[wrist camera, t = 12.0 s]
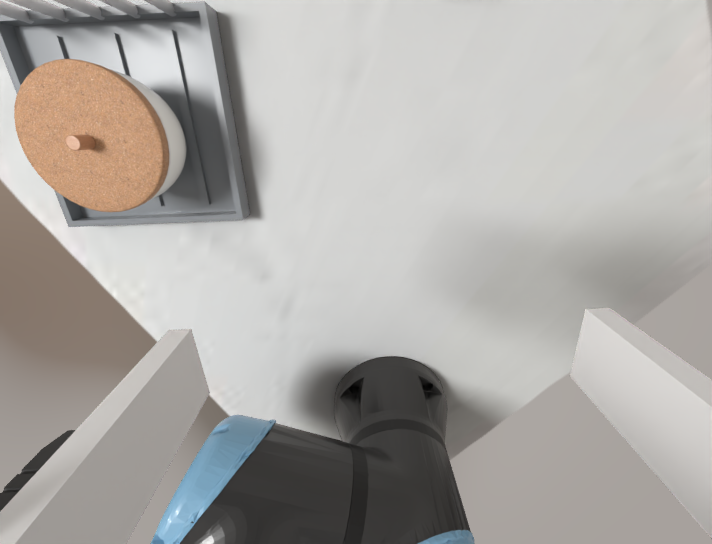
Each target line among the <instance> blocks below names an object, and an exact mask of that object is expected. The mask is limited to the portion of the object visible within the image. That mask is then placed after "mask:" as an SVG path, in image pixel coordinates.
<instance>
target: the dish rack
mask: <svg viewBox="0 0 712 544" xmlns="http://www.w3.org/2000/svg"><path fill="white" fill-rule="evenodd" d="M6 1H9V2H12V3H15V4H17V5H20V6H23V7H26V8H28V9H31V10H28V11H27V10H25V9H22V8H19V7H16V6H13V5H11V4H8V3H5V2H2V1H0V51H1V54H2V57H3V59H4V62H5V64H6V67H7V69H8V72H9V75H10V77H11V80H12V82H13V85H14V87H15V90H16V93H17V94H18V91H19V89H20V86H21V84H22V83H23V81H24V80H25V79H26V77H27V76H28V75H29V74H30V73H31V72H32V71H33V70H34V69H35V68H37V67H39V66H41V65H42V64H44V63H47V62H50V61H54V60H59V59H76V60H83V61H87V62H91V63H94V64H98V65H101V66H103V67H105V68H108V69H111V70H114V71H118V72H120V73H122V74H125V75H127V76H129V77H132V78H134V79H136V80H138V81H139V82H141V83H143V84H144V85H146V86H147V87H149V88H150V89H152V90H153V91H154V92H155V93H157V94H158V95H159V96H160V97H161V98H162V99H163V100H164V101H165V102H166V103H167V104H168V105H169V107H170V108H171V109H172V111H173V112H174V114H175V115H176V117H177V119H178V120H179V122H180V124H181V127H182V129H183V132H184V136H185V140H186V159H185V164H184V167H183V170H182V172H181V174H180V176H179V177H178V179H177V181H176V182H175V183H174V184H173V185H172V186H171V187H170V188H169V189H168V190H167V191H165V192H164V193H162V194H161V195H159V196H158V197H156V198H154V199H152V200H150V201H147V202H146V203H144V204H142V205H140V206H138V207H136V208H133V209H130V210H126V211H122V212H101V211H96V210H92V209H89V208H86V207H83V206H80V205H78V204H76V203H74V202H72V201H70V200H68V199H67V198H65V197H64V196H62V195H61V194H59V193H58V192H57V191H55V193H56V196H57V198H58V201H59V203H60V206H61V208H62V211H63V214H64V216H65V219H66V221H67V224H68V226H69V227H80V226H104V225H129V224H153V223H177V222H201V221H226V220H243V219H245V218H246V217H247V216H248V215H250V210H249V204H248V198H247V192H246V186H245V180H244V174H243V168H242V162H241V156H240V150H239V144H238V138H237V132H236V127H235V121H234V115H233V109H232V103H231V97H230V91H229V85H228V79H227V73H226V67H225V61H224V55H223V49H222V43H221V37H220V31H219V25H218V19H217V13H216V11H215V10H214V9H213V8H212V7H210V6H209V5H208V4H207V3H206V2H184V3H171V2H170V1H168V0H145V1H147V2H148V3H150V4H145V5H135V4H133V3H131V2H129V1H128V0H100V1H102V2H104V3H106V4H108V5H110V6H106V7H99V6H97V5H94V4H92V3H90V2H88V1H86V0H54V1H56V2H59V3H61V4H64V5H66V6H68V7H71V8H67V9H63V8H60V7H58V6H56V5H53V4H51V3H48V2H46V1H43V0H6Z"/></svg>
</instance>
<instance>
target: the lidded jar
mask: <svg viewBox="0 0 712 544" xmlns="http://www.w3.org/2000/svg"><path fill="white" fill-rule="evenodd" d="M15 125H16V131H17V134H18V138H19V141H20V144H21V146H22V148H23V151H24V153H25V155H26V156H27V158H28V160H29V161H30V163H31V165H32V166H33V167H34V169H35V170H36V171H37V173H38V174H39V175H40V176H41V177H42V178H43V179H44V181H45V182H46V183H47V184H48V185H50V186H51V187H52V188H53V189H54V190H55V191H57V192H58V193H59V194H61V195H62V196H64V197H65V198H67V199H68V200H70V201H72V202H74V203H76V204H78V205H80V206H83V207H86V208H89V209H92V210H96V211H101V212H122V211H126V210H130V209H133V208H136V207H138V206H140V205H142V204H144V203H146V202H147V201H150V200H152V199H154V198H156V197H158V196H159V195H161V194H162V193H164V192H165V191H167V190H168V189H169V188H170V187H171V186H172V185H173V184H174V183H175V182H176V181H177V179H178V177H179V176H180V174H181V172H182V170H183V167H184V164H185V159H186V140H185V136H184V132H183V129H182V127H181V124H180V122H179V120H178V119H177V117H176V115H175V114H174V112H173V111H172V109H171V108H170V107H169V105H168V104H167V103H166V102H165V101H164V100H163V99H162V98H161V97H160V96H159V95H158V94H157V93H155V92H154V91H153V90H152V89H150V88H149V87H147V86H146V85H144V84H143V83H141V82H139V81H138V80H136V79H134V78H132V77H129V76H127V75H125V74H122V73H120V72H118V71H114V70H111V69H108V68H105V67H103V66H101V65H98V64H94V63H91V62H87V61H83V60H76V59H59V60H54V61H50V62H47V63H44V64H42V65H41V66H39V67H37V68H35V69H34V70H33V71H32V72H31V73H30V74H29V75H28V76H27V77H26V79H25V80H24V81H23V83H22V84H21V86H20V89H19V91H18V94H17V97H16V102H15Z"/></svg>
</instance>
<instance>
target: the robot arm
mask: <svg viewBox="0 0 712 544" xmlns="http://www.w3.org/2000/svg"><path fill="white" fill-rule="evenodd" d="M570 376H571V378H572V379H573V380H574V381H575V383H577V385H578V386H579V387H580V388H581V389H582V390H583V392H584V393H585V394H586V395H587V396H588V397H589V399H590V400H591V401H592V402H593V403H594V404H595V405H596V407H597V408H598V409H599V410H600V411H601V412H602V414H603V415H604V416H605V417H606V418H607V419H608V420H609V422H610V423H611V424H612V425H613V426H614V427H615V428H616V430H617V431H618V432H619V433H620V434H621V435H622V436H623V438H624V439H625V440H626V441H627V442H628V443H629V444H630V446H631V447H632V448H633V449H634V450H635V451H636V453H637V454H638V455H639V456H640V457H641V458H642V459H643V461H644V462H645V463H646V464H647V465H648V466H649V467H650V469H651V470H652V471H653V472H654V473H655V474H656V475H657V477H658V478H659V479H660V480H661V481H662V482H663V483H664V485H665V486H666V487H667V488H668V489H669V490H670V492H671V493H672V494H673V495H674V496H675V497H676V498H677V500H678V501H679V502H680V503H681V504H682V505H683V507H684V508H685V509H686V510H687V511H688V512H689V513H690V514H691V516H692V517H693V518H694V519H695V520H696V521H697V523H698V524H699V525H700V526H701V527H702V528H703V529H704V531H705V532H706V533H707V534H708V535H709V536H710V538H711V539H712V380H711V379H710V378H709V377H707V376H706V375H704V374H703V373H702V372H700V371H699V370H697V369H696V368H694V367H693V366H692V365H690V364H689V363H687V362H686V361H685V360H683V359H682V358H680V357H679V356H677V355H676V354H675V353H673V352H672V351H670V350H669V349H667V348H666V347H665V346H663V345H662V344H660V343H659V342H657V341H656V340H655V339H653V338H652V337H650V336H649V335H647V334H646V333H644V332H643V331H642V330H640V329H639V328H637V327H636V326H635V325H633V324H632V323H630V322H629V321H628V320H626V319H625V318H623V317H622V316H620V315H619V314H618V313H616V312H615V311H613V310H612V309H610V308H594V309H586V310H585V314H584V318H583V322H582V326H581V331H580V335H579V339H578V343H577V347H576V352H575V356H574V360H573V364H572V368H571V373H570ZM209 393H210V392H209V389H208V385H207V382H206V378H205V375H204V372H203V368H202V365H201V361H200V358H199V354H198V351H197V347H196V344H195V341H194V337H193V334H192V330H191V329H181V330H168V331H167V332H166V334H165V335H164V336H163V337H162V338H161V339H160V340H159V341H158V342H157V343H156V344H155V345H154V346H153V348H152V349H151V350H150V351H149V352H148V353H147V354H146V355H145V356H144V357H143V358H142V359H141V360H140V362H139V363H138V364H137V365H136V366H135V367H134V368H133V369H132V370H131V371H130V372H129V373H128V375H127V376H126V377H125V378H124V379H123V380H122V381H121V382H120V383H119V384H118V385H117V386H116V387H115V389H114V390H113V391H112V392H111V393H110V394H109V395H108V396H107V397H106V398H105V399H104V401H102V403H101V404H100V405H99V406H98V407H97V408H96V409H95V410H94V411H93V412H92V413H91V414H90V415H89V417H88V418H87V419H86V420H85V421H84V422H83V423H82V424H81V425H80V426H79V427H78V428H77V429H76V430H70V431H67V432H65V433H64V434H62V435H61V436H60V437H58V438H57V439H55V440H54V441H53V442H51V443H50V444H49V445H47V446H46V447H44V448H43V449H42V450H41V451H40V452H39V453H38V454H37V455H36V456H35V457H34V458H33V459H32V460H31V461H30V462H29V463H28V464H27V465H26V466H25V467H24V468H23V469H22V472H21V474H17V475H16V477H14V478H13V479H12V480H11V481H10V482H9V483H8V484H7V485H6V487H5V488H4V491H3V492H2V493H0V544H127V542H128V540H129V538H130V536H131V534H132V533H133V531H134V529H135V527H136V525H137V524H138V522H139V520H140V518H141V516H142V515H143V513H144V511H145V509H146V507H147V506H148V504H149V502H150V500H151V498H152V497H153V495H154V493H155V491H156V489H157V487H158V485H159V484H160V482H161V480H162V478H163V477H164V475H165V473H166V471H167V469H168V467H169V466H170V464H171V462H172V460H173V458H174V457H175V455H176V453H177V451H178V449H179V448H180V445H181V444H182V442H183V440H184V438H185V437H186V435H187V433H188V431H189V429H190V428H191V426H192V424H193V422H194V420H195V418H196V417H197V415H198V413H199V411H200V409H201V408H202V406H203V404H204V402H205V400H206V399H207V397H208V395H209ZM334 415H335V421H336V424H337V427H338V430H339V433H340V436H341V439H342V441H340V440H336V439H332V438H329V437H325V436H321V435H317V434H314V433H310V432H306V431H303V430H299V429H295V428H291V427H288V426H284V425H280V424H277V423H276V420H270V421H266V420H262V419H257V418H252V417H247V416H243V415H233V416H230V417H228V418H226V419H224V420H223V421H221V422H220V423H219V425H217V426H216V427H215V429H214V430H213V431H212V433H211V434H210V435H209V437H208V438H207V440H206V441H205V443H204V445H203V446H202V448H201V449H200V451H199V452H198V454H197V456H196V458H195V459H194V461H193V463H192V464H191V466H190V468H189V469H188V471H187V473H186V474H185V476H184V478H183V480H182V482H181V484H180V485H179V487H178V489H177V491H176V492H175V494H174V496H173V498H172V500H171V502H170V503H169V505H168V507H167V509H166V511H165V513H164V515H163V517H162V519H161V521H160V523H159V525H158V528H157V531H156V533H155V535H154V538H153V540H152V542H151V543H150V544H474V537H473V535H472V533H471V531H470V528H469V525H468V521H467V518H466V514H465V511H464V508H463V505H462V501H461V498H460V494H459V491H458V488H457V484H456V481H455V478H454V474H453V471H452V467H451V464H450V461H449V457H448V454H447V450H446V447H445V431H446V419H447V402H446V397H445V394H444V391H443V388H442V385H441V383H440V381H439V379H438V378H437V377H436V375H435V374H434V373H433V372H432V371H431V370H430V369H428V368H427V367H426V366H424V365H422V364H420V363H418V362H416V361H413V360H410V359H406V358H400V357H383V358H377V359H373V360H369V361H367V362H364V363H362V364H360V365H358V366H356V367H355V368H353V369H352V370H351V371H349V372H348V373H347V374H346V375H345V376H344V378H343V379H342V380H341V382H340V383H339V385H338V387H337V390H336V394H335V404H334Z"/></svg>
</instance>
